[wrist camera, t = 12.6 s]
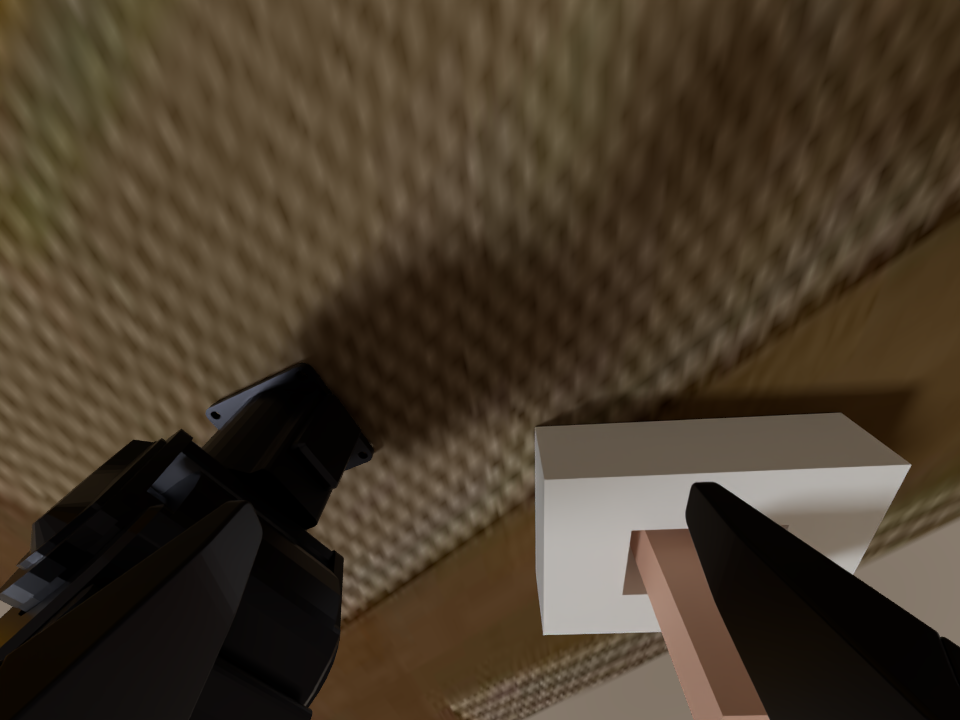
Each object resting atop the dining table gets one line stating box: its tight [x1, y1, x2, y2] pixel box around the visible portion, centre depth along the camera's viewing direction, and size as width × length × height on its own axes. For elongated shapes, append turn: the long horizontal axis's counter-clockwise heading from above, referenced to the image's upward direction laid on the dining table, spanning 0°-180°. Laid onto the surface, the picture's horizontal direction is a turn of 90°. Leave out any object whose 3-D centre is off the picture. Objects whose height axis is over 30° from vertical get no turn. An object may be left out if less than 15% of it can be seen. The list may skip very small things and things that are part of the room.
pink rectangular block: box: [630, 529, 770, 720], centre depth 19 cm, size 6×3×10 cm, turn 94°
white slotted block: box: [535, 413, 911, 635], centre depth 23 cm, size 16×12×4 cm
